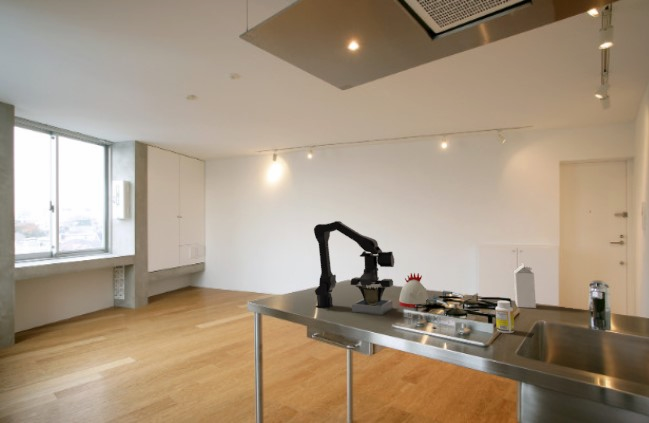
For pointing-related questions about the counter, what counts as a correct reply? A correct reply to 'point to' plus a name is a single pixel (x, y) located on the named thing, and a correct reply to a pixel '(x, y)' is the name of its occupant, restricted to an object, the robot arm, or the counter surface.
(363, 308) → the tray
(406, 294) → the kitchen timer
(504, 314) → the supplement bottle
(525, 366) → the counter surface
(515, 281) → the milk carton
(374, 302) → the cup
